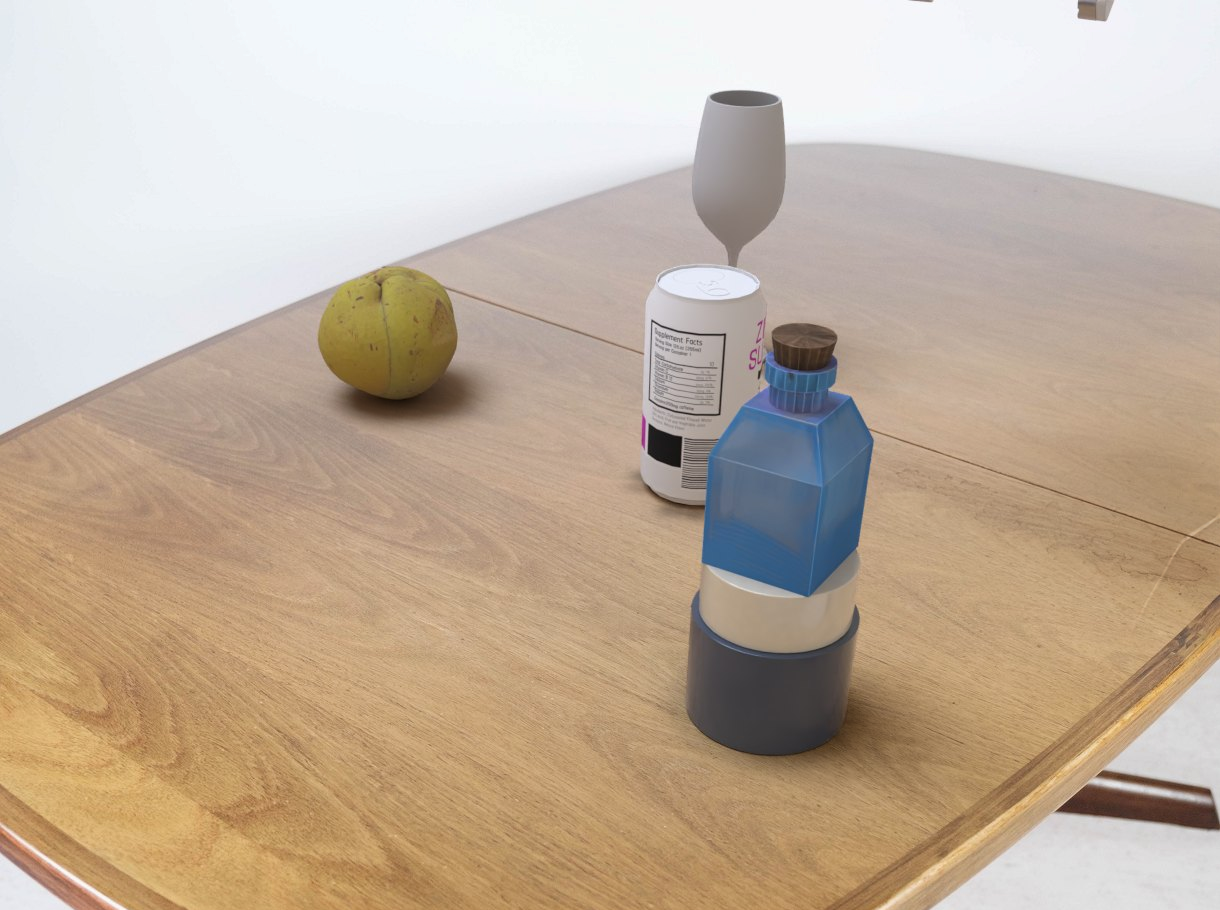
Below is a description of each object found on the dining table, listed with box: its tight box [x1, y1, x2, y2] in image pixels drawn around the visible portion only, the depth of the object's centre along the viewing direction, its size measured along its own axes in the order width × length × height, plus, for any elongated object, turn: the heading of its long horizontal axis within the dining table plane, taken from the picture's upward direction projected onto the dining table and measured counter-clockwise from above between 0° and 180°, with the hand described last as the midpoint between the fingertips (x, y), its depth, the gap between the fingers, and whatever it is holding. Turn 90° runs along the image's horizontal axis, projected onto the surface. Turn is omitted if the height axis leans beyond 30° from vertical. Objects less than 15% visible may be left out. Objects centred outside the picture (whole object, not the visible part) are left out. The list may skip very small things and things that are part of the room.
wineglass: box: [691, 89, 787, 363], centre depth 112 cm, size 8×8×21 cm
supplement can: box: [640, 263, 768, 506], centre depth 94 cm, size 8×8×15 cm
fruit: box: [317, 266, 459, 400], centre depth 107 cm, size 11×12×10 cm
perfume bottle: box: [700, 322, 875, 597], centre depth 67 cm, size 6×6×12 cm
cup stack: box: [684, 548, 862, 756], centre depth 74 cm, size 9×9×10 cm
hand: (1001, 3), depth 71 cm, fingers open, 8 cm apart
